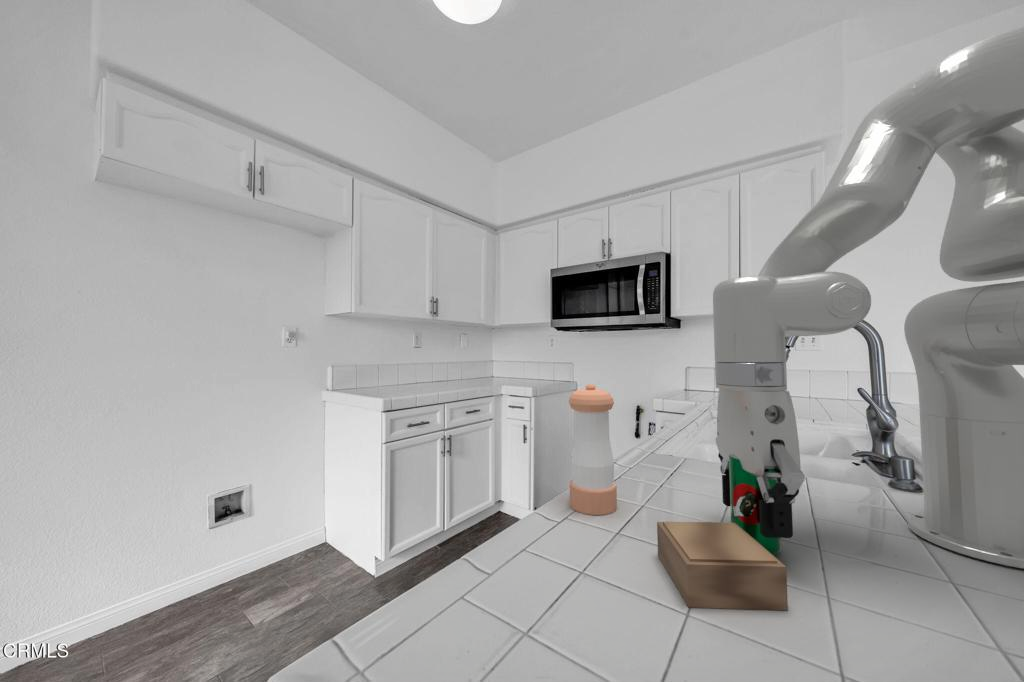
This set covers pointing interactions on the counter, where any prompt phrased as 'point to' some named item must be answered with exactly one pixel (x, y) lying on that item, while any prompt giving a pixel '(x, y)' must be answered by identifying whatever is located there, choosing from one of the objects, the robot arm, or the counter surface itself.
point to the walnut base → (721, 566)
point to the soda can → (748, 503)
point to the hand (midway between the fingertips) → (754, 518)
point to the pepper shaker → (592, 453)
